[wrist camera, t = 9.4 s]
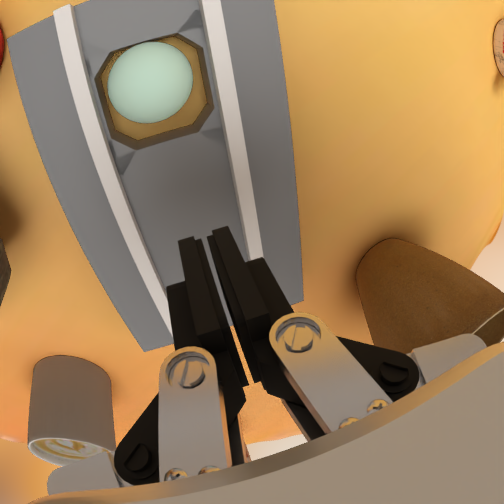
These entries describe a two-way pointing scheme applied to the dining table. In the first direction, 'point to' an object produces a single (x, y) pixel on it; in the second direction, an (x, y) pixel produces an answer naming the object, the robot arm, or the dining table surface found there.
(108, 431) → the coffee mug
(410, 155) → the dining table surface
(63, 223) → the dining table surface
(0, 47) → the canned food
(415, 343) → the plant pot
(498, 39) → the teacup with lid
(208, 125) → the board
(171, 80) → the ball
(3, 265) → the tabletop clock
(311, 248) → the dining table surface
